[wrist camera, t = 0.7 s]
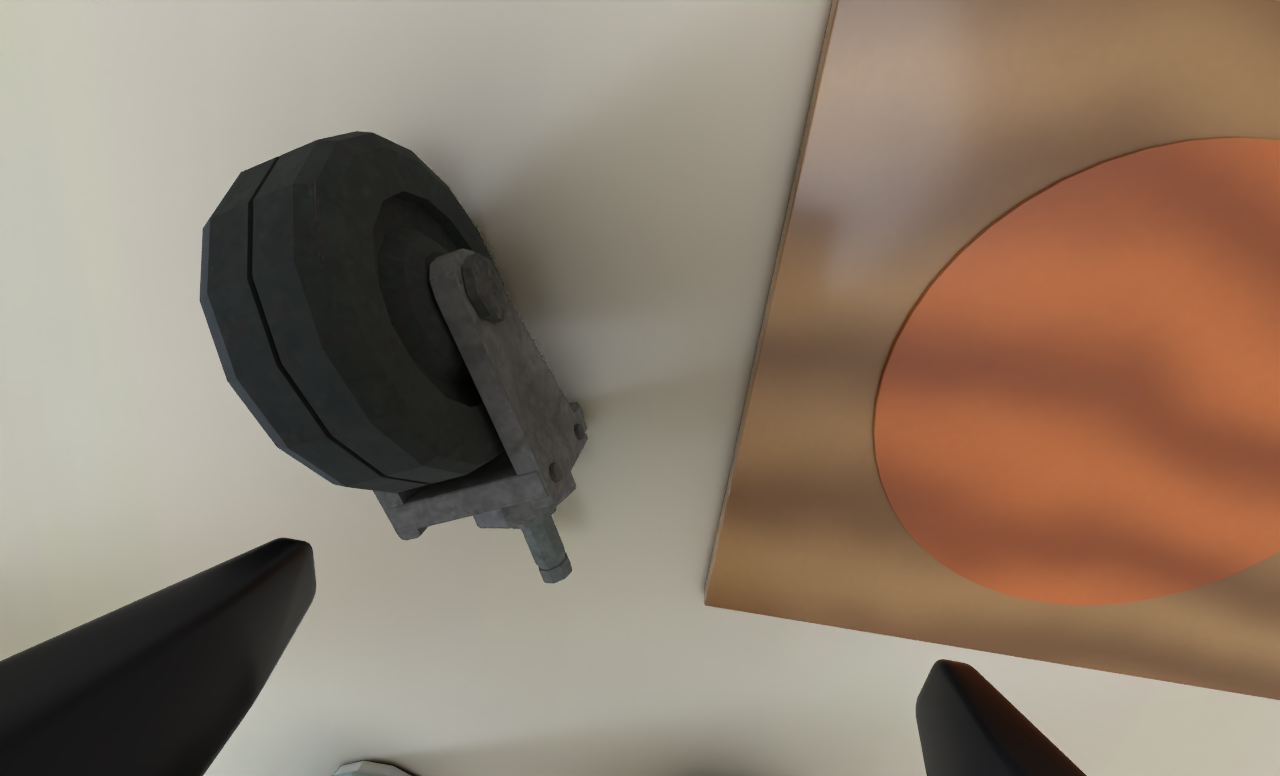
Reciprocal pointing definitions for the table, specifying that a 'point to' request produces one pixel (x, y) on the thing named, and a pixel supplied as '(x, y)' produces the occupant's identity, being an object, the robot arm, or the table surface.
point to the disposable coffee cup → (369, 770)
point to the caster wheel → (387, 342)
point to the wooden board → (1027, 341)
